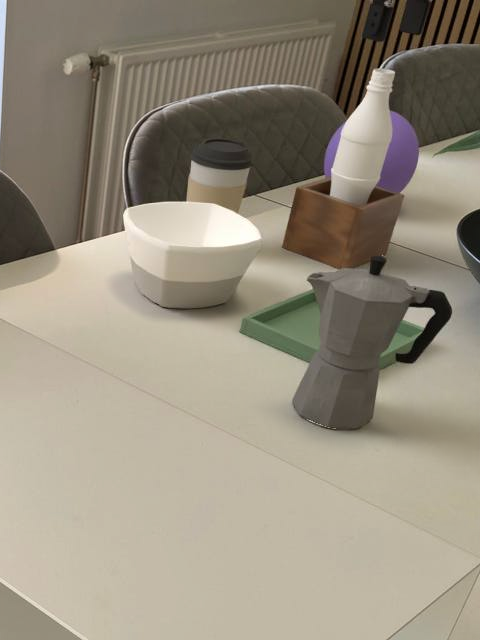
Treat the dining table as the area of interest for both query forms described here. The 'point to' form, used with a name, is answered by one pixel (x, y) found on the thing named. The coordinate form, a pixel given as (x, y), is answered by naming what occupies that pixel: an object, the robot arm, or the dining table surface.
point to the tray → (311, 329)
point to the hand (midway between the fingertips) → (391, 36)
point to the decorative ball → (388, 155)
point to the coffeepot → (360, 340)
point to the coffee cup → (219, 173)
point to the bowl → (189, 252)
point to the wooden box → (340, 225)
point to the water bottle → (364, 143)
